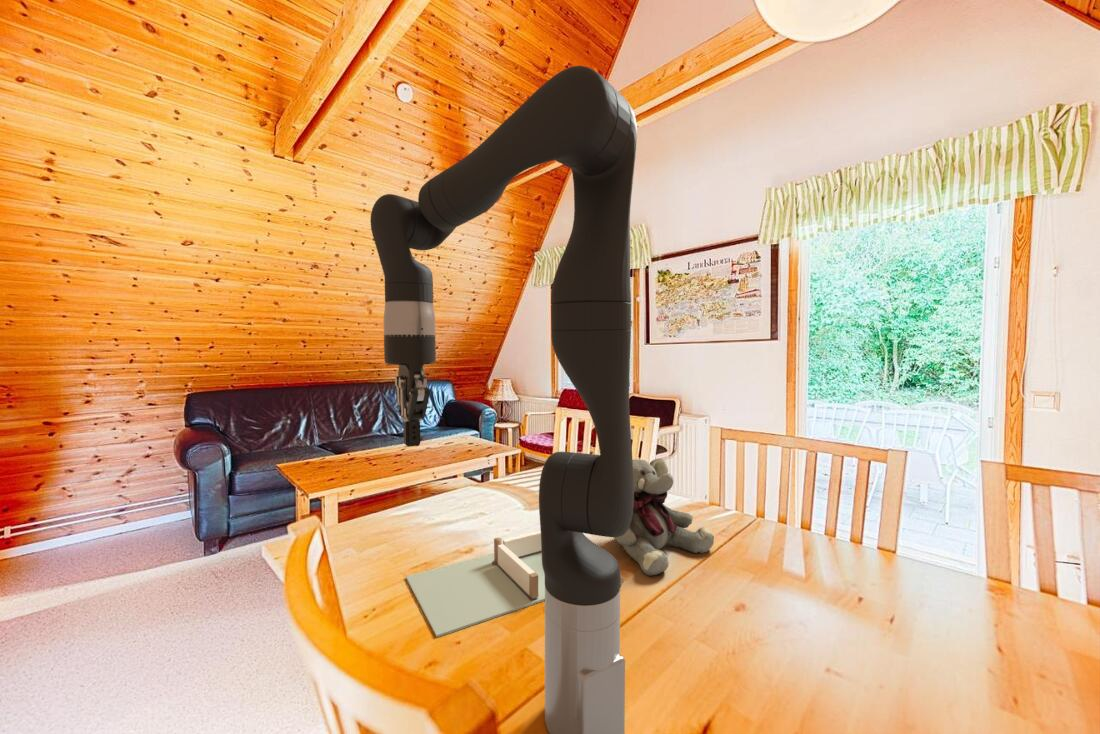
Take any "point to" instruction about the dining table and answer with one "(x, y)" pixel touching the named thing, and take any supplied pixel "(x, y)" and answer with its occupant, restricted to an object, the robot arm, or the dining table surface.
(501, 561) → the gate
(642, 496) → the plush elephant
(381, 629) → the dining table surface
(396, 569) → the dining table surface
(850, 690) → the dining table surface
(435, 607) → the board
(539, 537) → the fence fixed
